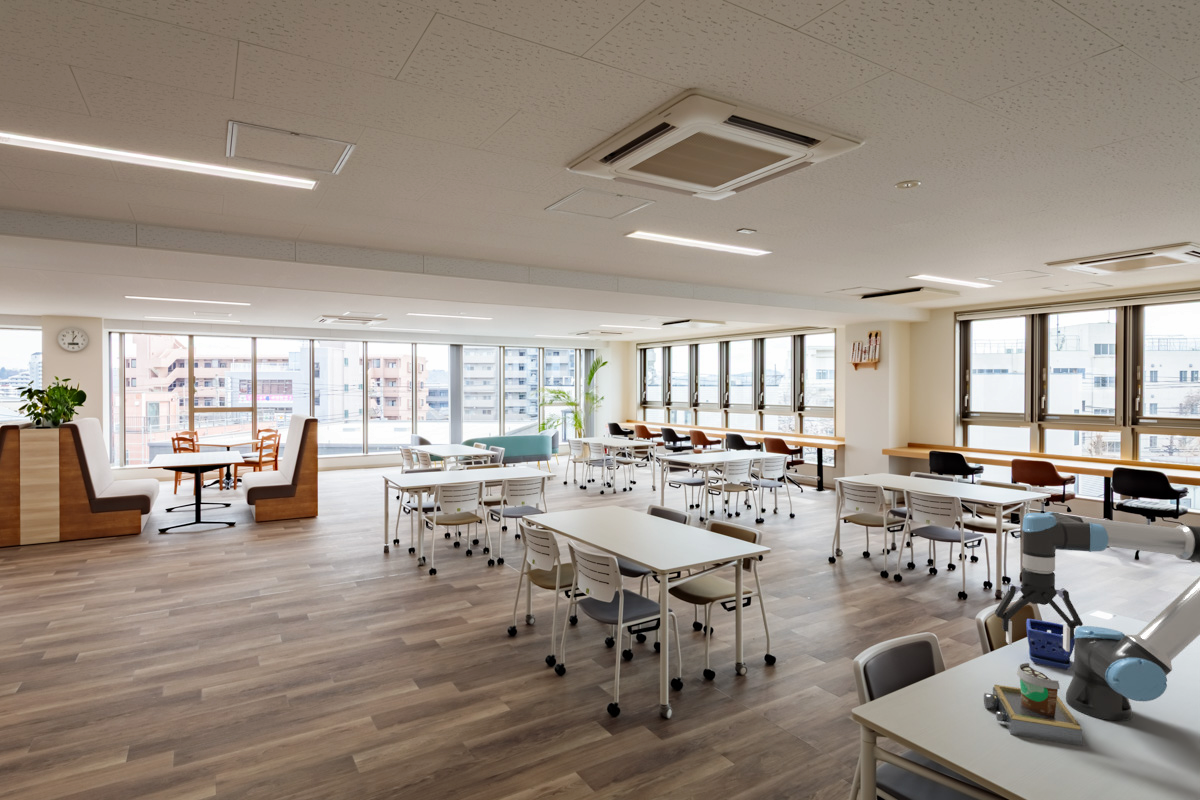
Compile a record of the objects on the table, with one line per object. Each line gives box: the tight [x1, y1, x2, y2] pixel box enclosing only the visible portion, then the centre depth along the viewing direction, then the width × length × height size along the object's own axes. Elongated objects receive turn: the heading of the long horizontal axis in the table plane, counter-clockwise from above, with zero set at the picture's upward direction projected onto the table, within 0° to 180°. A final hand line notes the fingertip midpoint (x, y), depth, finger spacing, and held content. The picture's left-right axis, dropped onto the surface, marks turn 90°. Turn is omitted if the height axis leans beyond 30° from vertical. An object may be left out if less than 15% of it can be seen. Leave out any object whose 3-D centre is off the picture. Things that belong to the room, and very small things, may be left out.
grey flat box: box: [983, 684, 1083, 747], centre depth 180 cm, size 19×20×5 cm
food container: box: [1016, 662, 1061, 716], centre depth 180 cm, size 12×6×10 cm, turn 2°
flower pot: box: [1025, 618, 1075, 670], centre depth 220 cm, size 13×13×12 cm
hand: (1037, 646), depth 179 cm, fingers open, 13 cm apart
